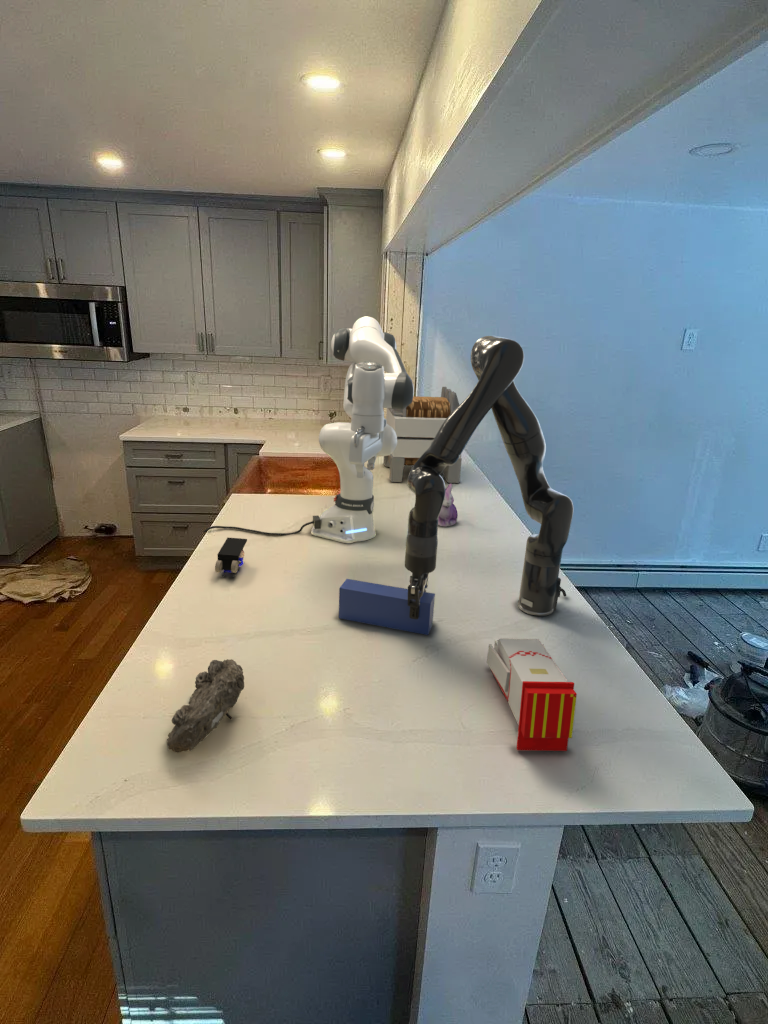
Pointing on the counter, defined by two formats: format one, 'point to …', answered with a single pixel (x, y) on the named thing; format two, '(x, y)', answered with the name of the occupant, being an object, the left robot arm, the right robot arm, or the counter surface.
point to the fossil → (206, 705)
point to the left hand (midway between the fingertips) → (365, 473)
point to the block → (384, 606)
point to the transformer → (420, 432)
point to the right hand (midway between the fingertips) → (416, 612)
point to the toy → (534, 693)
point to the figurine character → (230, 556)
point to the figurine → (448, 509)
